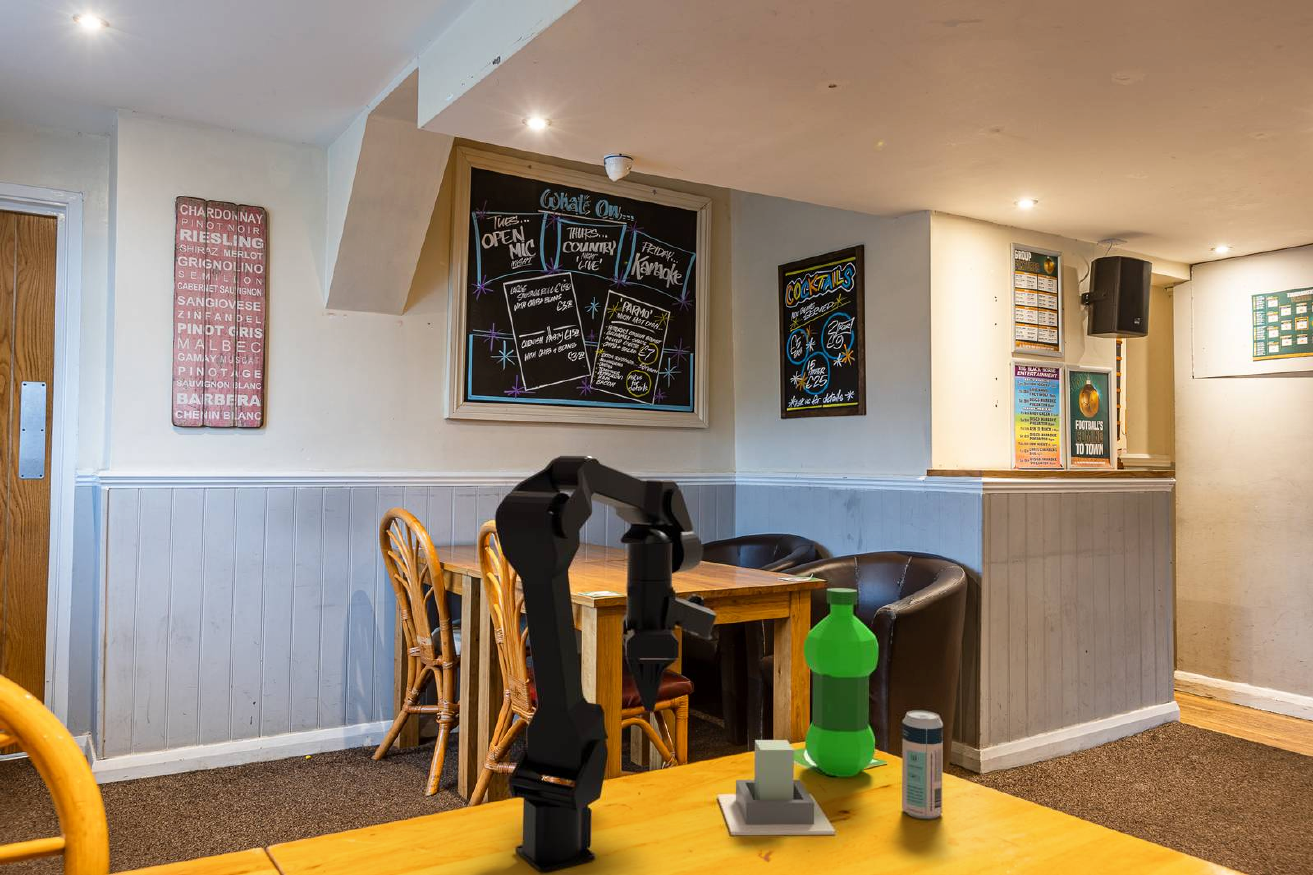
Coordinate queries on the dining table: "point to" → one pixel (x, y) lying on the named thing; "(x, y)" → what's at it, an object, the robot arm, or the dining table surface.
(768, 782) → the sage block
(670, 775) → the dining table surface
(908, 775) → the beer can
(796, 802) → the socket
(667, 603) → the robot arm
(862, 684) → the plastic bottle
